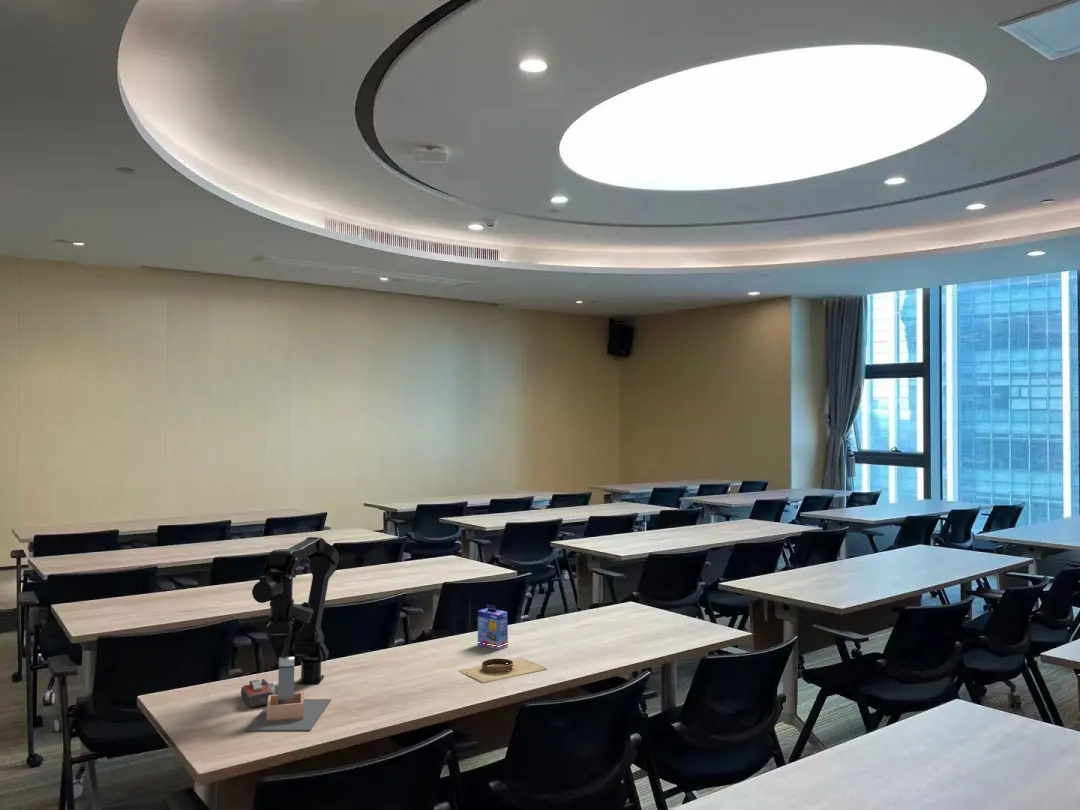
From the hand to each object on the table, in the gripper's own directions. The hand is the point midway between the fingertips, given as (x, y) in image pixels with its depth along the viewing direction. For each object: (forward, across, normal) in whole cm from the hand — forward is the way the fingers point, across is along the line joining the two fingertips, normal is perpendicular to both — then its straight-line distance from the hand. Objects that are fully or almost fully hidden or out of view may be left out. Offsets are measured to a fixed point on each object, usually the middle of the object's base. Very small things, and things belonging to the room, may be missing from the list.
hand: (280, 653), depth 212 cm
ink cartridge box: (+12, +42, -68) cm, 81 cm away
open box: (+13, -11, -2) cm, 17 cm away
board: (+13, +15, -66) cm, 69 cm away
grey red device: (+13, +6, +6) cm, 15 cm away
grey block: (+12, -11, -2) cm, 17 cm away
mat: (+13, -11, -4) cm, 17 cm away
